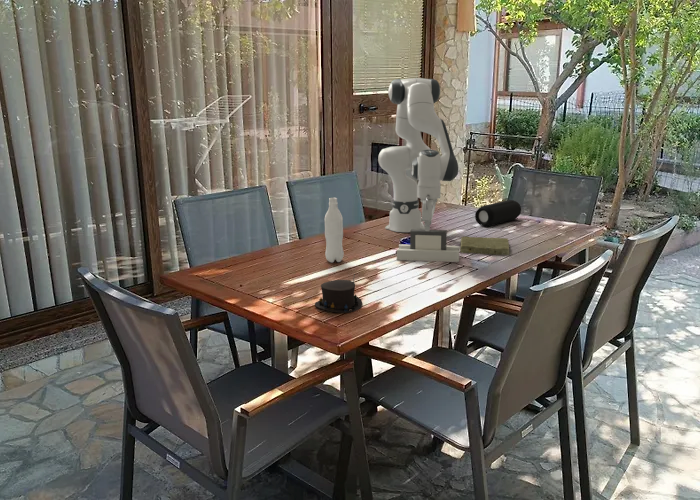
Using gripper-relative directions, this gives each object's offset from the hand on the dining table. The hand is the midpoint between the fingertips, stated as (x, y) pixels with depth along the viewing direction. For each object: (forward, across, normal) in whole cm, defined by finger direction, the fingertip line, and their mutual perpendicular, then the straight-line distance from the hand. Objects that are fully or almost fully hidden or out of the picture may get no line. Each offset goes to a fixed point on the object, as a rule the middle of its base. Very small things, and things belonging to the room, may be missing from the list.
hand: (428, 227), depth 244 cm
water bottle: (+12, -10, +36) cm, 39 cm away
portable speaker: (+13, +65, -29) cm, 73 cm away
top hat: (+12, -58, +24) cm, 64 cm away
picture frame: (+11, 0, 0) cm, 11 cm away
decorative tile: (+13, +16, -22) cm, 31 cm away
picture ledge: (+12, 0, 0) cm, 12 cm away
